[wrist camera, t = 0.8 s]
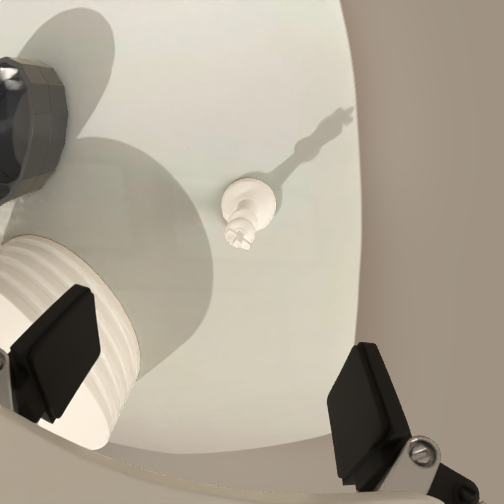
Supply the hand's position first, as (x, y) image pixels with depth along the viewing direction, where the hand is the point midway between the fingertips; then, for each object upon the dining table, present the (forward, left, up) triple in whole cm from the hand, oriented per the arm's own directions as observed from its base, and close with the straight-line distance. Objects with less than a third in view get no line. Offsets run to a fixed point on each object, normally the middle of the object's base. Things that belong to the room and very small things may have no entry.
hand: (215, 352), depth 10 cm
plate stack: (+21, -24, -19) cm, 38 cm away
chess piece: (-1, 0, -19) cm, 19 cm away
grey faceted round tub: (-6, -28, -19) cm, 35 cm away
